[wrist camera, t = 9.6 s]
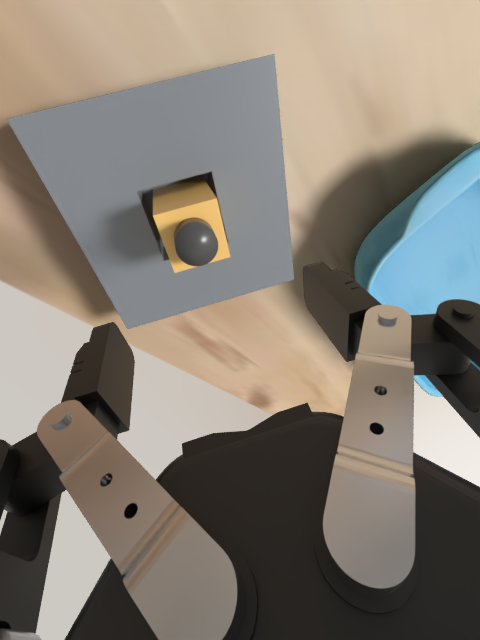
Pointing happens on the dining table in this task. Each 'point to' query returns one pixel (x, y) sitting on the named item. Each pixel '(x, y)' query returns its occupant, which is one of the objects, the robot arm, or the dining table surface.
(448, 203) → the casserole dish
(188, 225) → the plug
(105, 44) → the dining table surface
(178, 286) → the socket
